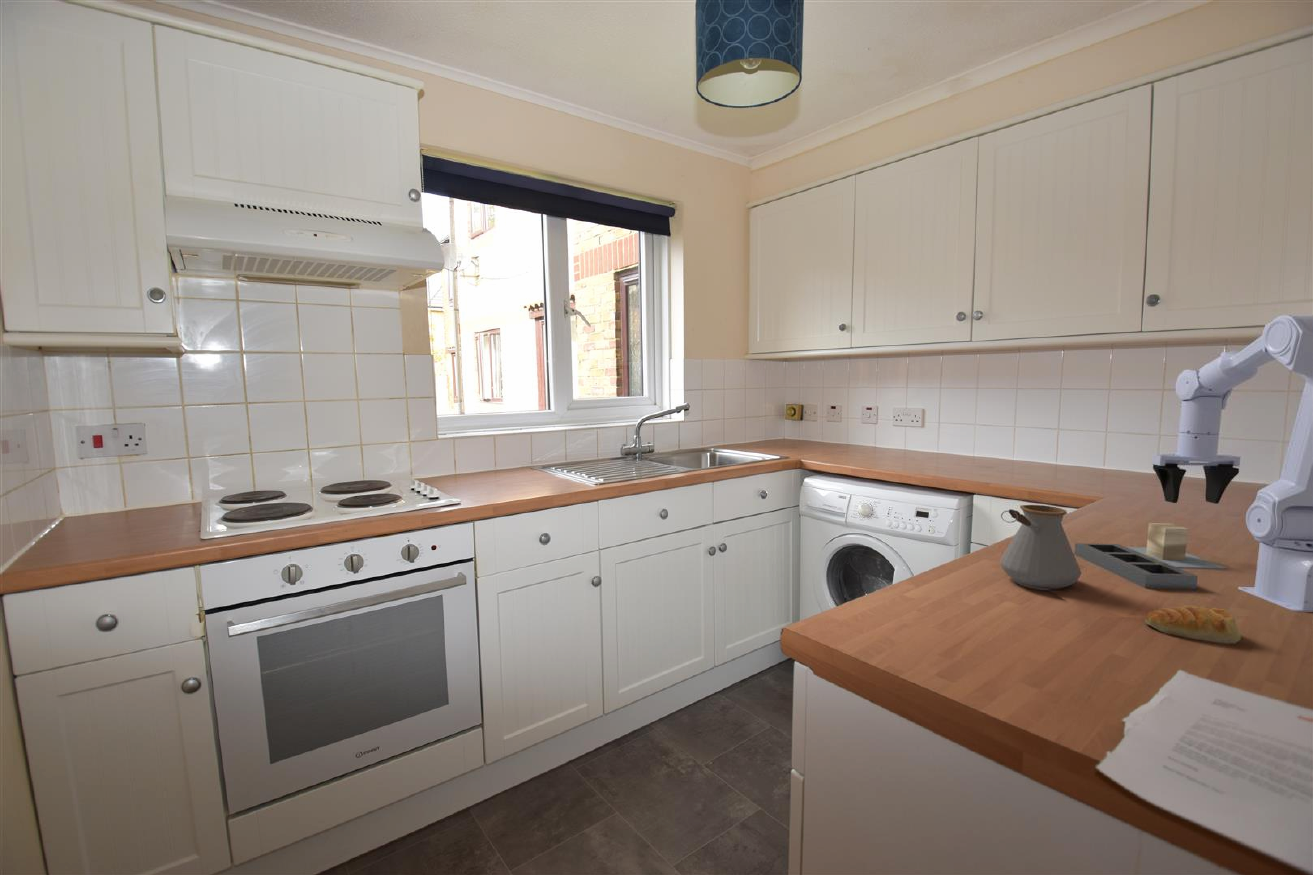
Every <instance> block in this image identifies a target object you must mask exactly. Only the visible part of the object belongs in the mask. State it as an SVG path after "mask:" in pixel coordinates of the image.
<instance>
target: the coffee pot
mask: <svg viewBox="0 0 1313 875" xmlns="http://www.w3.org/2000/svg"><path fill="white" fill-rule="evenodd" d="M1019 508H1020V510H1022V512H1023V514H1022V513H1020V511H1018V510H1014V509H1009V510H1004V511H1003V512H1002V513H1001V514H1000V517H1001V519H1002V521H1004V522H1006V523H1014V522H1018V523H1020V524H1021V525H1020V526H1019V528H1018V530H1017V531H1016V533H1015V535H1014V536H1013V538H1012V539H1011V541H1010V543H1009V545H1008V546H1007V548H1006V550H1005V551H1004V553H1003V554H1002V556H1001V558H1000V560H999V561H1000V565H1001V568H1002V570H1003V571H1004V572H1005V574H1006V575H1008V576H1009V577H1010V578H1011V580H1012V581H1013V582H1014V583H1016V584H1018V585H1020V586H1023V587H1026V588H1030V589H1034V590H1039V591H1046V592H1047V591H1048V592H1049V591H1050V592H1052V590H1059V589H1064V588H1066V587H1069V586H1071V585H1074V584H1076V583H1077V582H1078V580H1079V579H1080V577H1081V575H1082V571H1081V568H1080V566H1079V563H1078V561H1077V558H1076V555H1074V552H1073V549H1072V546H1071V543H1070V542H1069V540H1068V537H1067V535H1066V532H1065V530H1064V526H1063V524H1062V522H1063V518H1064V516H1065V515H1067V514H1068V511H1067V510H1066V509H1063V508H1059V507H1056V506H1050V505H1043V504H1041V505H1040V504H1022V505H1020V506H1019ZM1004 513H1009V515H1010V517H1011V518H1012V519H1014V520H1012V521H1008V520H1005V518H1003V515H1004Z"/></svg>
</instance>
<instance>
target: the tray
mask: <svg viewBox="0 0 1313 875" xmlns="http://www.w3.org/2000/svg"><path fill="white" fill-rule="evenodd" d="M1127 547H1128V546H1124V545H1121V544H1119V543H1084V542H1083V543H1082V542H1081V543H1080V542H1079V543H1077V542H1075V543H1074V552H1073V554H1074V556H1075V557H1078V558H1080V559H1082V560H1085V561H1087V562H1089V563H1091V564H1094V565H1096V566H1098V567H1099V568H1102V569H1103V570H1106V571H1108V572H1110V573H1112V574H1114V575H1116V576H1118V577H1120V578H1122V579H1124V580H1127V581H1129V582H1131V583H1133V584H1135V585H1138V586H1140V587H1141V588H1144V589H1163V590H1164V589H1165V590H1166V589H1167V590H1170V589H1171V590H1197V588H1198V586H1197V585H1198V575H1196V574H1193V573H1192V572H1189V571H1186V570H1184V569H1182V568H1177V567H1174V566H1172V565H1169V564H1167V563H1164V562H1162V561H1159V560H1157V559H1154V558H1152V557H1149V556H1147V555H1144V554H1142V553H1139V552H1137V551H1134V550H1132V549H1129V548H1127Z"/></svg>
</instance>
